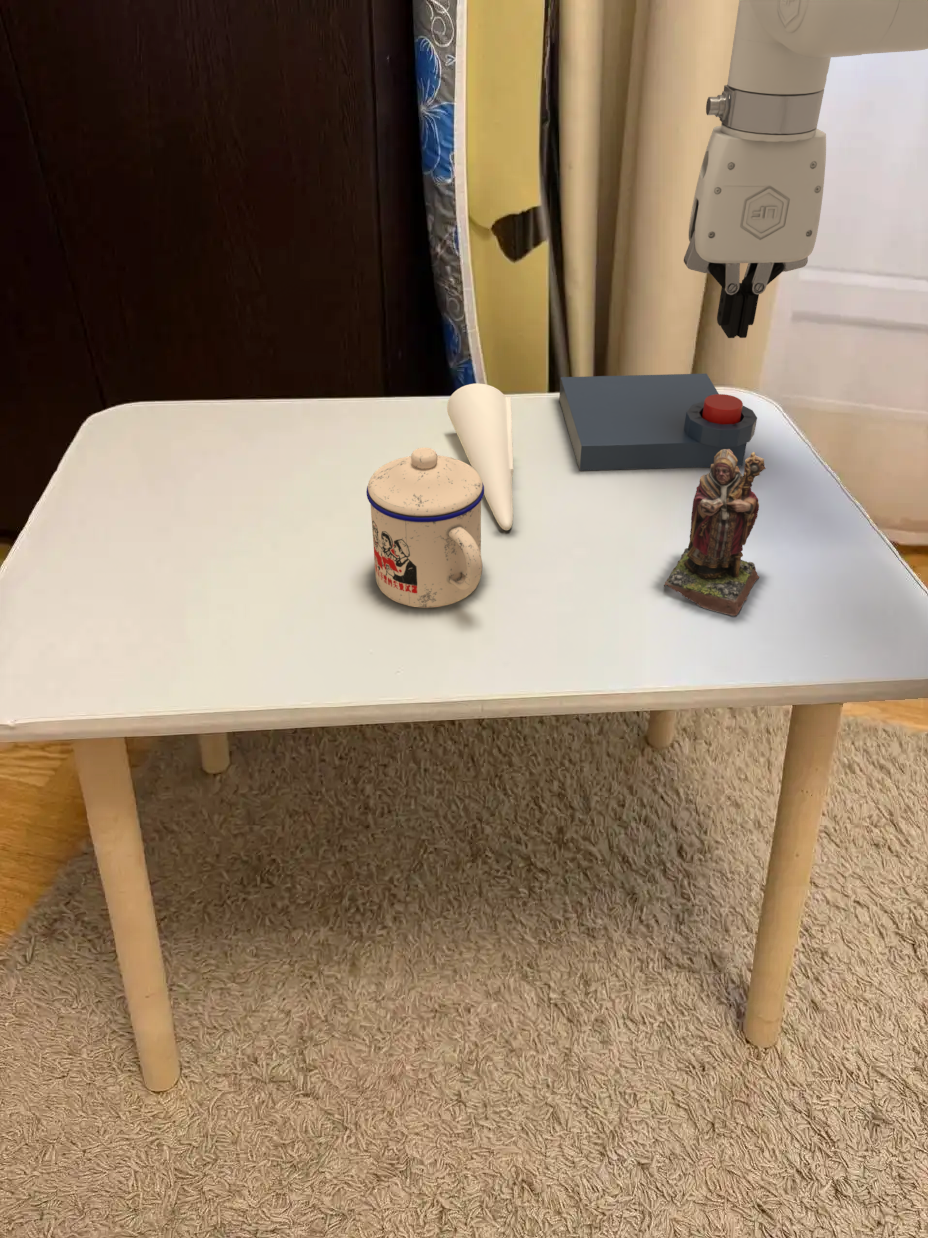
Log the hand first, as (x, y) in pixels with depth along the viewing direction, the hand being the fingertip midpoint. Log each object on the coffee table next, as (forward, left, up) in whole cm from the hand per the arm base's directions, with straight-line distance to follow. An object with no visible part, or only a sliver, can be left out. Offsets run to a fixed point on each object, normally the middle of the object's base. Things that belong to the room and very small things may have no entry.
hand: (733, 331), depth 91 cm
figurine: (-4, +23, -13) cm, 26 cm away
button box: (+7, -3, -13) cm, 15 cm away
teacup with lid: (+17, +31, -13) cm, 37 cm away
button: (0, 0, -9) cm, 9 cm away
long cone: (+20, +13, -13) cm, 27 cm away
